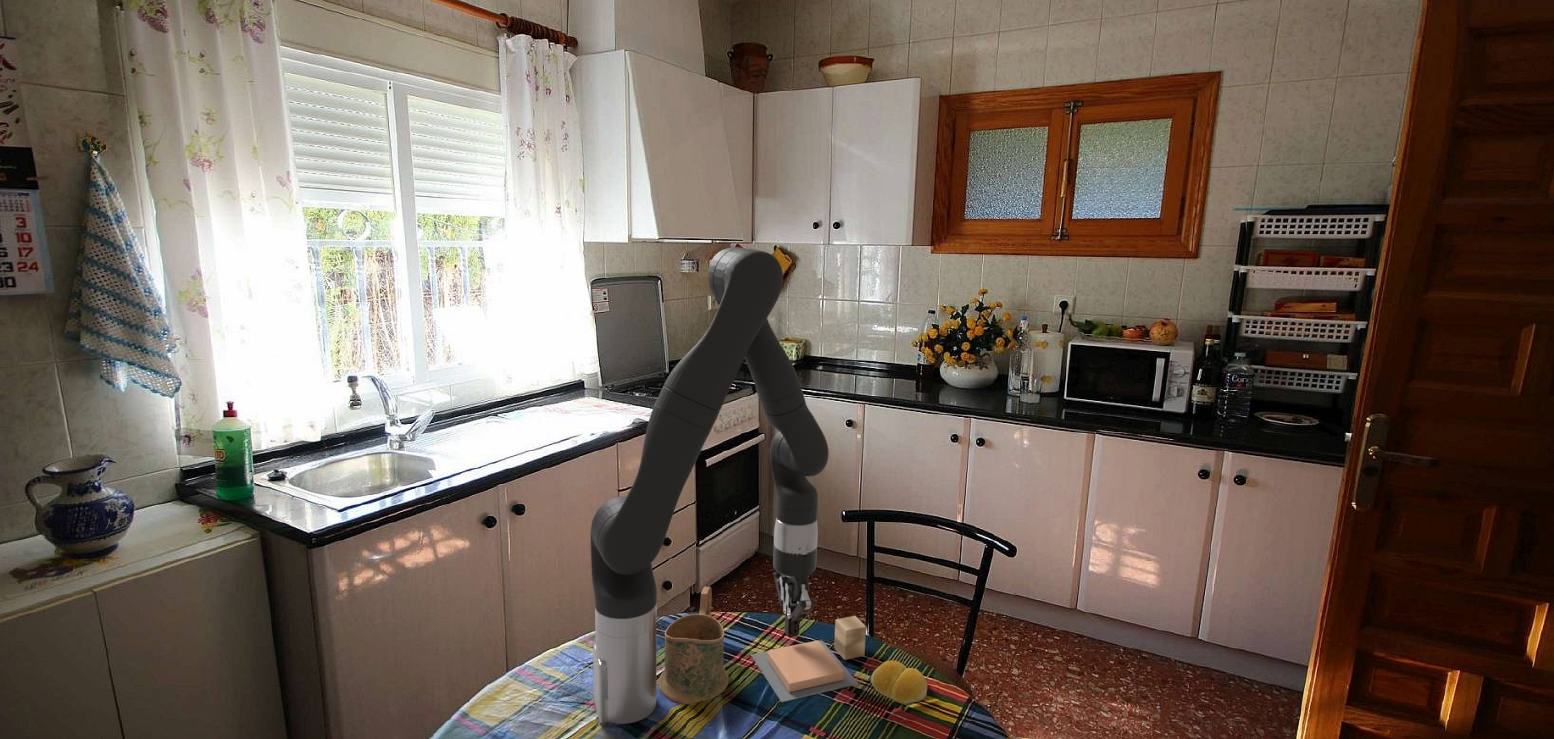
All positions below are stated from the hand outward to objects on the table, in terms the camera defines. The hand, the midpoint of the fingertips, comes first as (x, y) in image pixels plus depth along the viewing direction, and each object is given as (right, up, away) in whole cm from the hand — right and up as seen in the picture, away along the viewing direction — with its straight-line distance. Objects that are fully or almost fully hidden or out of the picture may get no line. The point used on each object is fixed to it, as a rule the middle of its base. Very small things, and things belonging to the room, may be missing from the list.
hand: (791, 634), depth 126 cm
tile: (0, -3, 0) cm, 3 cm away
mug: (-16, -5, -5) cm, 17 cm away
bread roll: (+18, -6, -8) cm, 20 cm away
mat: (+2, -5, -4) cm, 6 cm away
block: (+10, -4, +2) cm, 11 cm away
